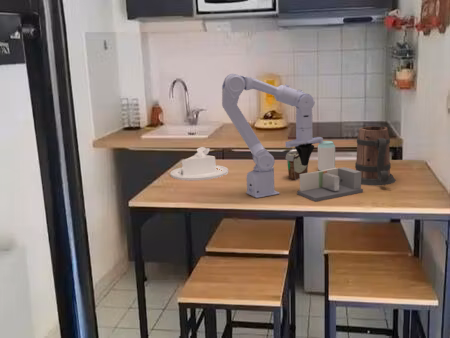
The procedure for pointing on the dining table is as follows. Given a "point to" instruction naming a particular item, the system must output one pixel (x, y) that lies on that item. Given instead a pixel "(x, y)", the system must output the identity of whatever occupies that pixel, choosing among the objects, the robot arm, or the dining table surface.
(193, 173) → the dish
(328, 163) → the can
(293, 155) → the food container
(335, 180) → the grey rectangular block
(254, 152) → the robot arm
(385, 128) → the tankard
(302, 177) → the base
